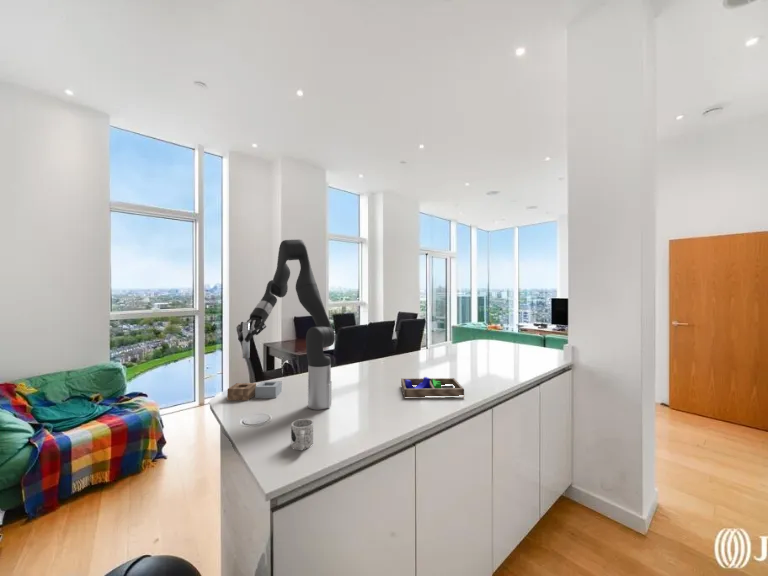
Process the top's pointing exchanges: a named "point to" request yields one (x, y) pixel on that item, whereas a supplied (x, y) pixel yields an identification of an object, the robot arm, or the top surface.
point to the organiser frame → (432, 388)
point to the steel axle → (245, 344)
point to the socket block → (268, 389)
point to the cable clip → (423, 385)
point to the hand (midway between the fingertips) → (243, 340)
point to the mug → (301, 434)
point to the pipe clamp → (436, 384)
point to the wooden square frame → (241, 391)
